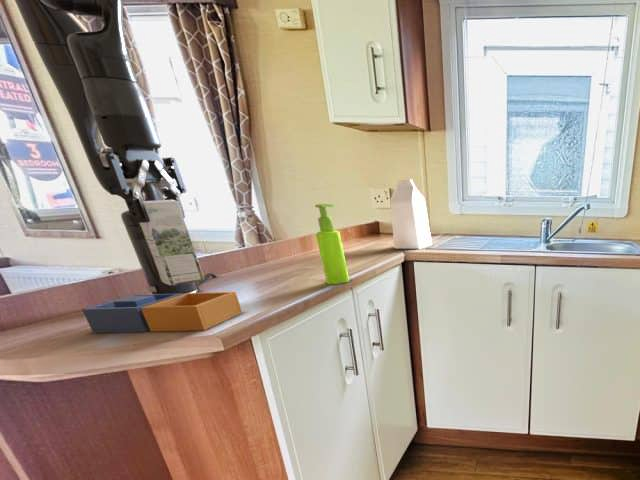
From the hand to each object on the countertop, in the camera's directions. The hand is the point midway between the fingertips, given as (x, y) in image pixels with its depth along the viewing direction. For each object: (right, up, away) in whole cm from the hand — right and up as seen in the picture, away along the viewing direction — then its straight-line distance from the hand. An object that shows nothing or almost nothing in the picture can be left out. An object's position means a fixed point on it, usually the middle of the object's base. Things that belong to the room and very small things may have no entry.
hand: (161, 220), depth 76 cm
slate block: (-11, -17, +8) cm, 22 cm away
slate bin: (-11, -18, +9) cm, 22 cm away
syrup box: (0, -10, +5) cm, 11 cm away
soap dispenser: (+16, -1, +41) cm, 44 cm away
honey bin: (+1, -17, +8) cm, 19 cm away
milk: (+21, +30, +106) cm, 112 cm away
